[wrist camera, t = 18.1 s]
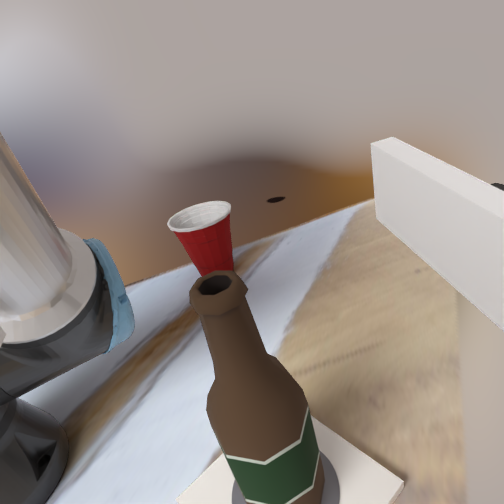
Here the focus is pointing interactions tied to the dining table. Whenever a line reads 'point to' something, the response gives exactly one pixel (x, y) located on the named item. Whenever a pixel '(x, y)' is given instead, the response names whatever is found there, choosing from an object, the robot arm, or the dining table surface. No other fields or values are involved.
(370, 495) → the tile
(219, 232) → the plastic cup
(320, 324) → the dining table surface
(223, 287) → the beer bottle
